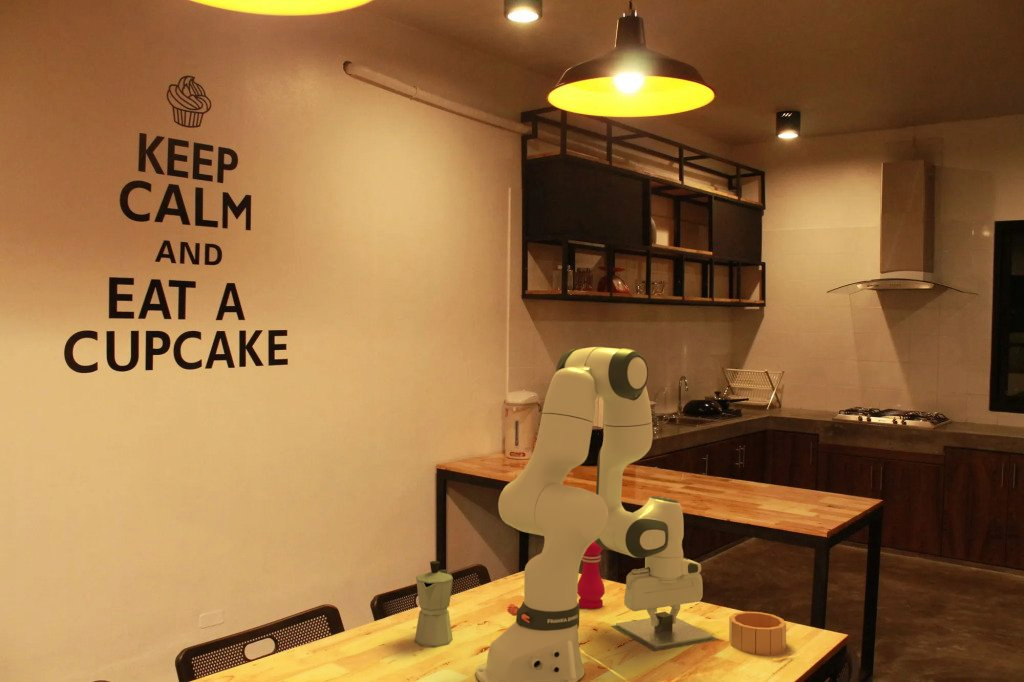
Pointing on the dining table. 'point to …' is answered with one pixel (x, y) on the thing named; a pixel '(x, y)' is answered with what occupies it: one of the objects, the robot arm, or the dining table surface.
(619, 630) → the rubber mat
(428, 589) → the coffee maker
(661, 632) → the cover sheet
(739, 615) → the bowl
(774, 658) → the dining table surface
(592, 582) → the pepper mill
